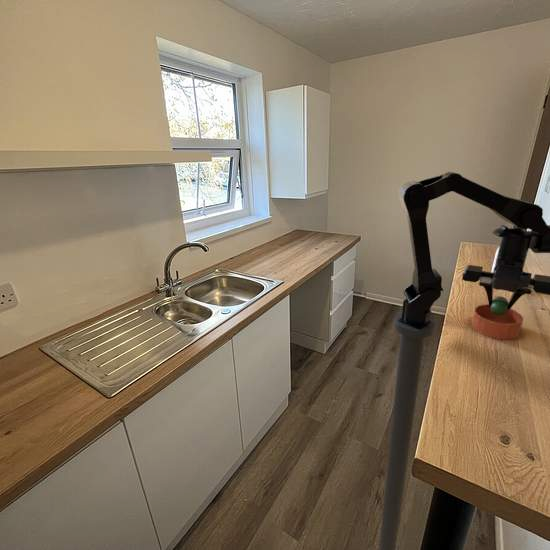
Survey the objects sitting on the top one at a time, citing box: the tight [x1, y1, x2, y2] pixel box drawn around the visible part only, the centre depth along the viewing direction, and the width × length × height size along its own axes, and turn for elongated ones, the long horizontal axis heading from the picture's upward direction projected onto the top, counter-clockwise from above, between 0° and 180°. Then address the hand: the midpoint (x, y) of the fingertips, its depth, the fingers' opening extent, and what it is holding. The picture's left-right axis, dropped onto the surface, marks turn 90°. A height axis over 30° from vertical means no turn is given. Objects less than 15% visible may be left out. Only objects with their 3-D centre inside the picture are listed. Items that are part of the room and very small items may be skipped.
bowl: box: [471, 303, 524, 340], centre depth 82 cm, size 11×11×4 cm
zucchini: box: [491, 295, 509, 315], centre depth 81 cm, size 8×4×4 cm, turn 142°
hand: (498, 307), depth 81 cm, fingers closed on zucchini, 3 cm apart
